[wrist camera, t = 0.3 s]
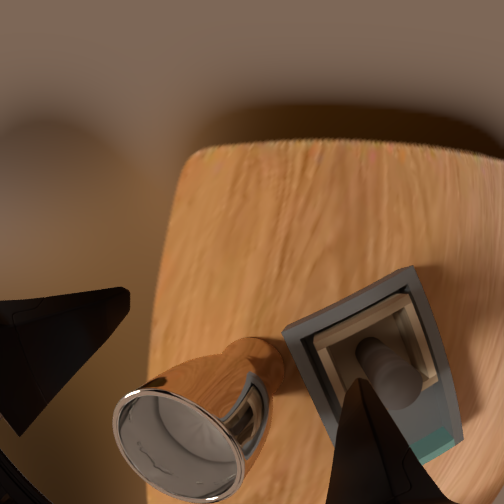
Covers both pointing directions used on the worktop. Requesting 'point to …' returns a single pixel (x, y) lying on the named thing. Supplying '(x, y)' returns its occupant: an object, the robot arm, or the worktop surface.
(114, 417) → the beer glass
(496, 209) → the worktop surface
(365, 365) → the crate
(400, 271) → the bay
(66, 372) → the robot arm
